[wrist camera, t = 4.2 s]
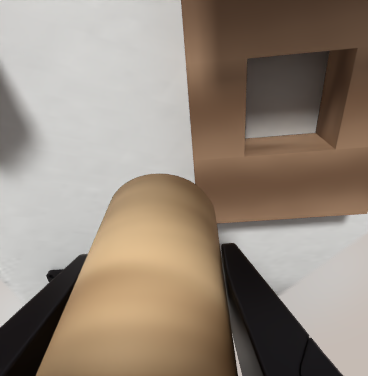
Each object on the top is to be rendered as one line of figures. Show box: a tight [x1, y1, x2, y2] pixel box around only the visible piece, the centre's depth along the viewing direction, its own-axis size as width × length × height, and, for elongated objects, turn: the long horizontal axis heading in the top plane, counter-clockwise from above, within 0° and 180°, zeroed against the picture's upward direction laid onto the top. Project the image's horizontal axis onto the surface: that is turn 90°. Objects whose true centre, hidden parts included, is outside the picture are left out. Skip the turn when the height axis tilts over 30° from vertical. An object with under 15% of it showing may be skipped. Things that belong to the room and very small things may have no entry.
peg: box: [36, 174, 238, 376], centre depth 7 cm, size 4×4×8 cm
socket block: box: [181, 0, 368, 223], centre depth 17 cm, size 16×12×3 cm
